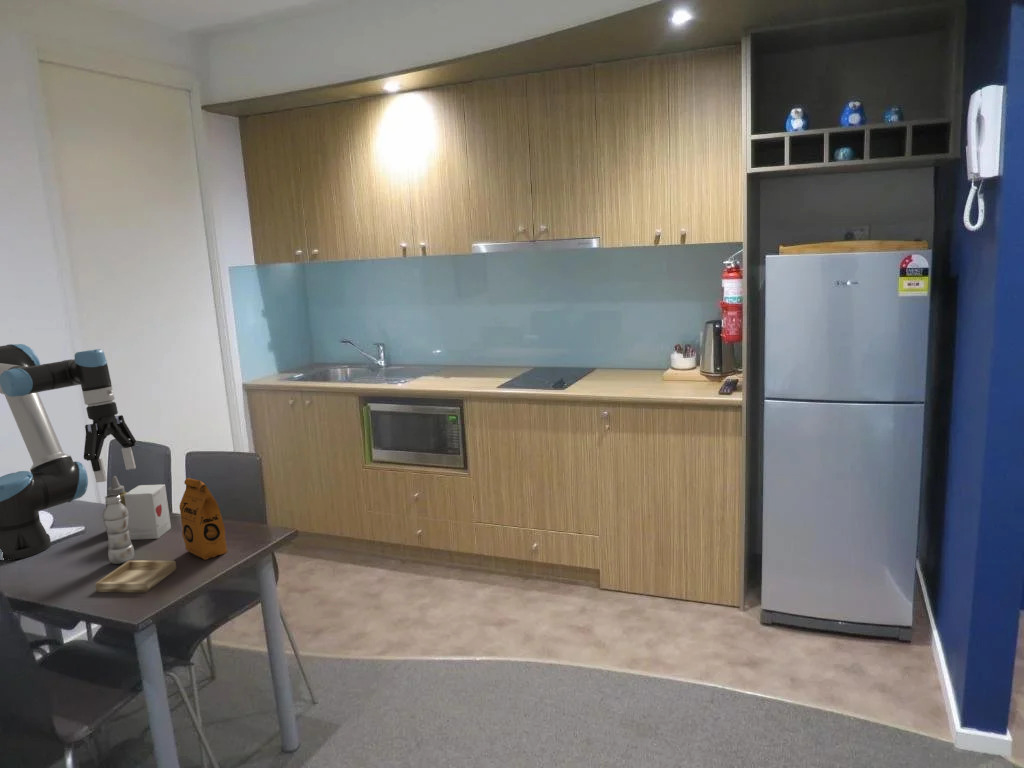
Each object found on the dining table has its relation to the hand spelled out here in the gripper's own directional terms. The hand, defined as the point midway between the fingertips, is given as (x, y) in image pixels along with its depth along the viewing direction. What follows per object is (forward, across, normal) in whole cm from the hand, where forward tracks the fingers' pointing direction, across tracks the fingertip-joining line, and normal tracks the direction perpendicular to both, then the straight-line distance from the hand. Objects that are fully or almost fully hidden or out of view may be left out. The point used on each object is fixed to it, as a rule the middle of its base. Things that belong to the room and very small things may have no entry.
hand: (116, 475), depth 210 cm
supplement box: (+24, +16, +4) cm, 29 cm away
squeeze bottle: (+22, +20, +16) cm, 34 cm away
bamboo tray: (+26, -15, -10) cm, 32 cm away
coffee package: (+27, +2, -21) cm, 34 cm away
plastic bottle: (+25, -4, +1) cm, 25 cm away
